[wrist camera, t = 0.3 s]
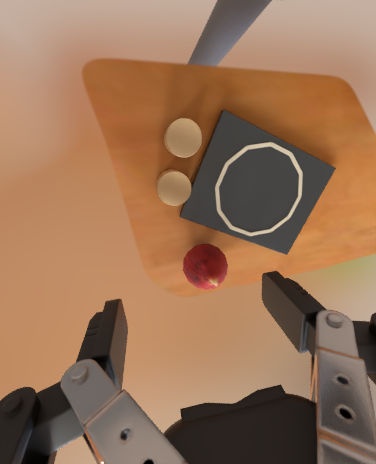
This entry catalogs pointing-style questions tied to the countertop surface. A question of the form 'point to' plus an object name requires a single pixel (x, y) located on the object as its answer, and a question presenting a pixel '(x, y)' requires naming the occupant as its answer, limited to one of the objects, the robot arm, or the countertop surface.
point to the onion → (205, 266)
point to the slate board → (255, 185)
